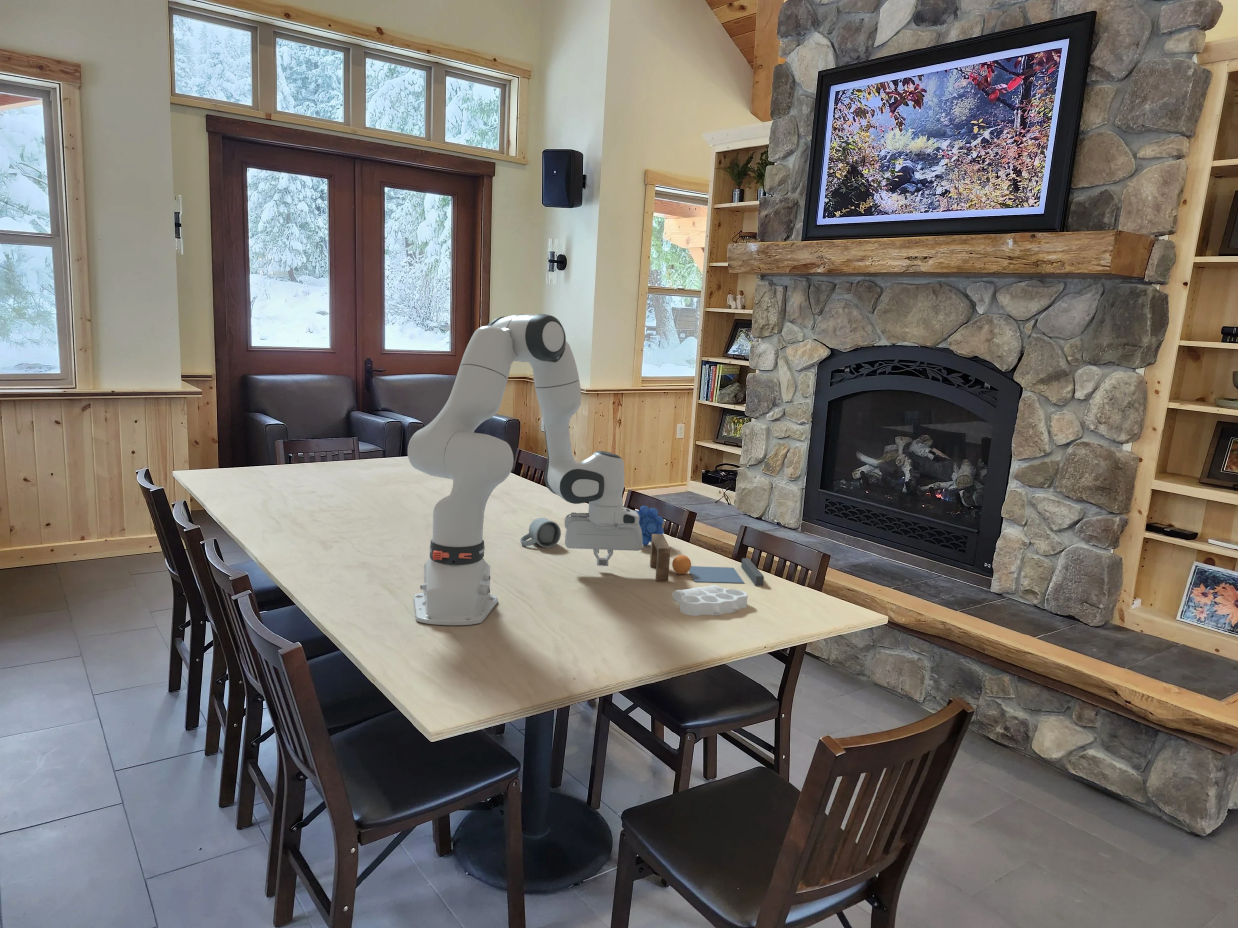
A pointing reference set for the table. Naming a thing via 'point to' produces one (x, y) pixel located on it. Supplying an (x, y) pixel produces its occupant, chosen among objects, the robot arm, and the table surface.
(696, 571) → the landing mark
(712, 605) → the white paint palette
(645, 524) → the blue flower
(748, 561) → the rail
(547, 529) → the ceramic mug
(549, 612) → the table surface
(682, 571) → the ball
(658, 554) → the bridge
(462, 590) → the robot arm
